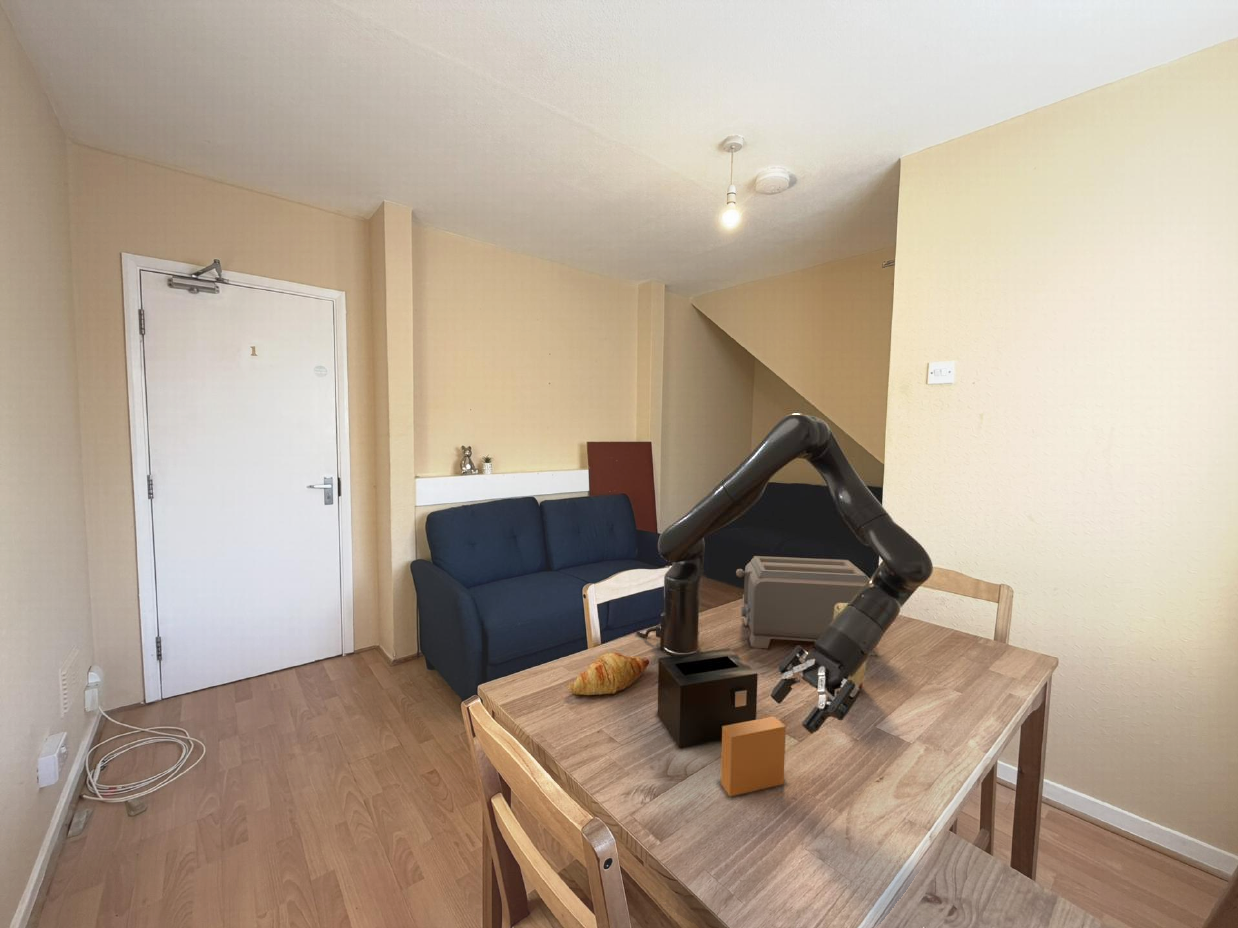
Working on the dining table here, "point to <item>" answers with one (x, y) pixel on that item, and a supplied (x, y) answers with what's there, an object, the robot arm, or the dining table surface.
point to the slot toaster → (705, 695)
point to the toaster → (795, 596)
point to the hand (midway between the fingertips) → (789, 714)
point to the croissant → (609, 674)
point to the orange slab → (752, 755)
